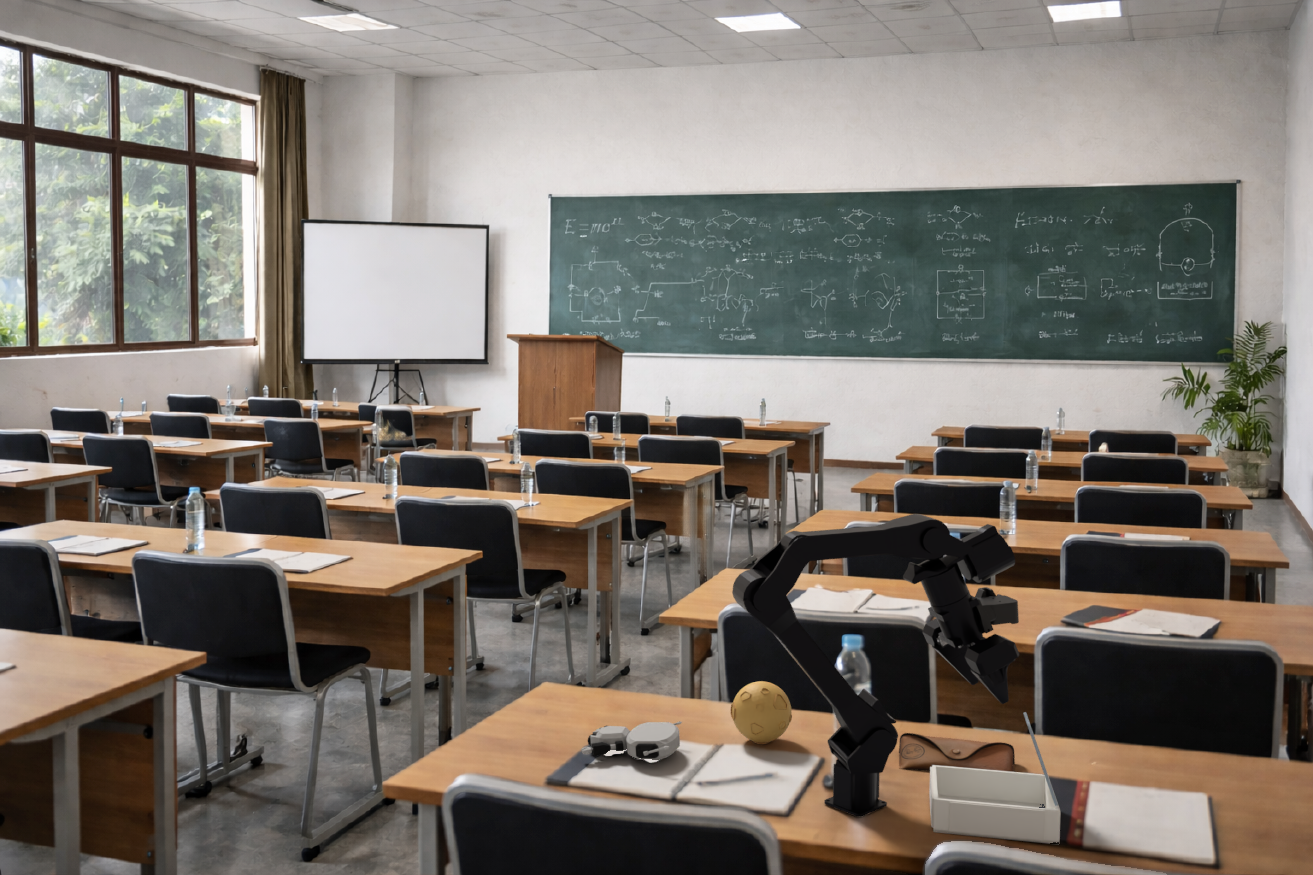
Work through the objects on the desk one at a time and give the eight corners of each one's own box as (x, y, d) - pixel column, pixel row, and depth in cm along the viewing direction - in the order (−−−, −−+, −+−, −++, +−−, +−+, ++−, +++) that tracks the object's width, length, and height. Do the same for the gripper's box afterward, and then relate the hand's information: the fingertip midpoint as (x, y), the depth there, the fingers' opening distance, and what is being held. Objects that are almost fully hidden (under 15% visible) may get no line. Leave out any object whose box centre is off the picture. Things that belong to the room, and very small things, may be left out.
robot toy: (579, 771, 171) (673, 771, 168) (577, 742, 171) (671, 742, 168) (598, 744, 183) (686, 744, 180) (596, 717, 183) (684, 717, 180)
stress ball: (748, 735, 188) (710, 704, 184) (786, 691, 189) (749, 660, 185) (774, 764, 179) (734, 733, 175) (813, 718, 180) (774, 686, 175)
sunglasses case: (896, 769, 170) (897, 725, 173) (897, 777, 176) (899, 735, 179) (1018, 781, 165) (1018, 736, 168) (1015, 789, 171) (1015, 746, 174)
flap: (1055, 805, 144) (1032, 740, 144) (1044, 772, 156) (1023, 712, 156) (1058, 805, 144) (1035, 740, 144) (1046, 772, 156) (1025, 711, 156)
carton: (931, 832, 147) (932, 799, 147) (929, 793, 160) (929, 763, 160) (1059, 845, 144) (1060, 811, 143) (1046, 804, 157) (1047, 773, 157)
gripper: (1030, 585, 148) (1072, 686, 150) (968, 560, 167) (1006, 651, 169) (959, 621, 147) (1002, 723, 149) (904, 593, 165) (943, 683, 167)
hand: (989, 692), depth 158 cm, fingers open, 9 cm apart
